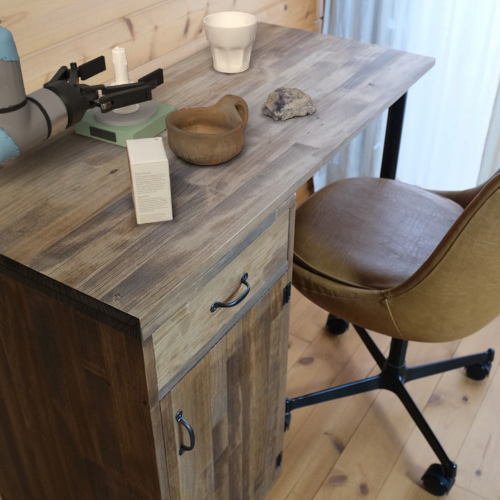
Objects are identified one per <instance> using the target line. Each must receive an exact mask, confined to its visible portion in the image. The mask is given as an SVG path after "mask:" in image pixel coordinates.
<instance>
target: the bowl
mask: <svg viewBox="0 0 500 500" xmlns="http://www.w3.org/2000/svg"><path fill="white" fill-rule="evenodd" d="M248 122H249V106H248V103H247V102H246V100H245V99H244V98H243V97H241V96H239V95H236V94H230V93H229V94H225V95H223V96H222V97H220V98H219V100H218V101H217V102H216V103H215V104H213V105H210V106H206V107H205V106H199V107H188V108H181V109H177V111H175V112H172V113H170V114H168V115H167V116H166V119H165V123H166V127H167V129H166V130H167V131H166V132H167V144H168V147H169V150H170V151H171V152H173V154H175V155H176V156H177V158H180V159H181V160H183V161H185V162H188V163H191V164H193V165H198V166H212V165H213V166H214V165H219V164H222V163H225V162H227V161H230V160H232V159H233V158H235V157H236V156H237V155H239V153H240V152H241V151H242V150H243V149H244V145H245V141H246V139H245V137H246V135H245V132H244V131H245V129H246V127H247V124H248Z"/></svg>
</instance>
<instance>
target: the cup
mask: <svg viewBox="0 0 500 500" xmlns="http://www.w3.org/2000/svg"><path fill="white" fill-rule="evenodd" d="M202 19H203V21H202V22H203V26H204V33H205V38H206V40H207V42H208V43H209V47H210V51H211V52H210V53H211V57H212V62H213V69H214V70H215V71H217V72H219V73H223V74H239V73H244V72H245V71H248V69H249V68H250V62H251V56H252V50H253V45H254V42H255V41H256V39H257V30H258V23H259V19H258V17H257V16H256V15H254V14H252V13H248V12H244V11H235V10H233V11H232V10H231V11H220V12H213V13H210V14H208V15H206V16H205V17H203V18H202Z"/></svg>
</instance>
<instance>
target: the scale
mask: <svg viewBox="0 0 500 500" xmlns="http://www.w3.org/2000/svg"><path fill="white" fill-rule="evenodd" d="M138 105H139V106H140V108H139V110H137V111H136V112H133V113H130V114H118V113H115V112H113V111H110V112H108V113H101V109H100V108H99V107H95V108H92V109H88V110H87V111H86V113H85V115H84V117H83V119H82V120H81V121H80V122H78V123H76V124H75V125H73V127H74V130H75V134H78V135H81V136H84V137H88V138H92V139H95V140H99V141H102V142H106V143H110V144H113V145H117V146H119V147H120V146H121V147H124V148H126V140H133V139H144V138H154V137H157V135H159V134H161V133H162V132H163V131H165V130H167V127H166V123H165V119H166V116H167V115H168V114H170V113H172V112H175V111H177V110H178V108H177V106H175V105H170V104H166V103H162V102H158V101H154V100H150V101H146V102H142V103H138Z"/></svg>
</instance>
